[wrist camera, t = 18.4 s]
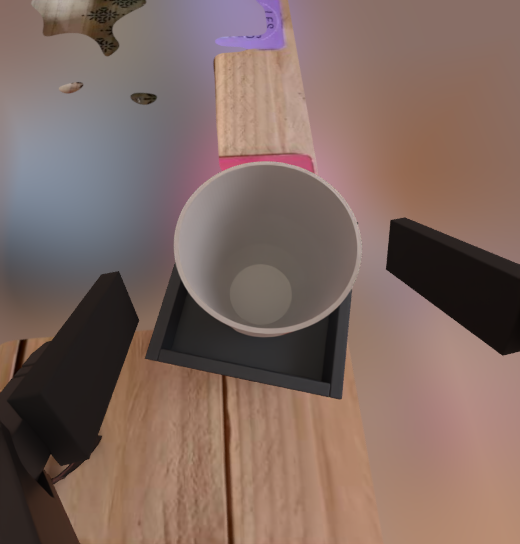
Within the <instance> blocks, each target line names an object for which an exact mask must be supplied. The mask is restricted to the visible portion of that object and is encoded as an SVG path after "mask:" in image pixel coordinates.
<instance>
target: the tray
mask: <svg viewBox="0 0 520 544" xmlns="http://www.w3.org/2000/svg"><path fill="white" fill-rule="evenodd" d="M357 224H358V222H357ZM351 293H352V289H351V290H350V292H349V294H348V295H347V297H346V298H345V299H344V300H343V302H342V303H341V304H340V305H339V306H338V307H337V308H336V309H335V310H334V311H333V312H331V313H330V314H329V315H327V316H326V317H325V318H323V319H322V320H320V321H318V322H316V323H314V324H312V325H310V326H308V327H305V328H302V329H299V330H296V331H293V332H290V333H287V334H284V335H280V336H275V337H255V336H249V335H246V334H242V333H240V332H237V331H235V330H233V329H231V328H229V327H228V326H226V325H225V324H223V323H222V322H220V321H219V320H217V319H216V318H214V317H213V316H212V315H210V314H209V313H208V312H206V311H205V310H204V309H203V308H202V307H201V306H200V305H199V304H198V303H197V302H196V301H195V300H194V299H193V298H192V296H191V295H190V294H189V292H188V291H187V289H186V287H185V286H184V284H183V282H182V280H181V278H180V275H179V273H178V270H177V266H176V262H175V264H174V268H173V271H172V275H171V277H170V280H169V284H168V287H167V290H166V293H165V296H164V299H163V303H162V306H161V309H160V312H159V316H158V318H157V322H156V325H155V328H154V331H153V334H152V338H151V341H150V344H149V347H148V350H147V353H146V357H145V359H149V360H154V361H159V362H163V363H168V364H173V365H178V366H183V367H187V368H192V369H197V370H202V371H206V372H211V373H216V374H221V375H226V376H230V377H235V378H240V379H245V380H249V381H254V382H259V383H264V384H268V385H273V386H278V387H283V388H288V389H292V390H297V391H302V392H307V393H311V394H316V395H321V396H326V397H331V398H335V399H342V391H343V380H344V370H345V359H346V348H347V337H348V327H349V315H350V305H351Z"/></svg>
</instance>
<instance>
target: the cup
mask: <svg viewBox="0 0 520 544" xmlns="http://www.w3.org/2000/svg"><path fill="white" fill-rule="evenodd" d="M174 255H175V262H176V266H177V270H178V273H179V275H180V278H181V280H182V282H183V284H184V286H185V287H186V289H187V291H188V292H189V294H190V295H191V296H192V298H193V299H194V300H195V301H196V302H197V303H198V304H199V305H200V306H201V307H202V308H203V309H204V310H205V311H206V312H208V313H209V314H210V315H212V316H213V317H214V318H216V319H217V320H219V321H220V322H222V323H223V324H225V325H226V326H228V327H229V328H231V329H233V330H235V331H237V332H240V333H242V334H246V335H249V336H255V337H275V336H280V335H284V334H287V333H290V332H293V331H296V330H299V329H302V328H305V327H308V326H310V325H312V324H314V323H316V322H318V321H320V320H322V319H323V318H325V317H326V316H327V315H329V314H330V313H331V312H333V311H334V310H335V309H336V308H337V307H338V306H339V305H340V304H341V303H342V302H343V300H344V299H345V298H346V297H347V295H348V294H349V292H350V290H351V289H352V287H353V285H354V283H355V281H356V278H357V275H358V272H359V269H360V264H361V257H362V244H361V235H360V231H359V227H358V224H357V221H356V219H355V216H354V214H353V212H352V210H351V208H350V207H349V205H348V204H347V202H346V201H345V200H344V198H343V197H342V196H341V195H340V194H339V192H338V191H337V190H336V189H335V188H334V187H332V186H331V185H330V184H329V183H328V182H326V181H325V180H323V179H322V178H321V177H319V176H317V175H316V174H314V173H312V172H310V171H308V170H305V169H303V168H300V167H297V166H294V165H290V164H286V163H280V162H252V163H246V164H241V165H238V166H234V167H231V168H229V169H226V170H224V171H222V172H220V173H218V174H217V175H215V176H213V177H212V178H210V179H209V180H207V181H206V182H205V183H204V184H202V185H201V186H200V187H199V188H198V189H197V190H196V191H195V192H194V193H193V195H192V196H191V197H190V198H189V200H188V201H187V203H186V204H185V206H184V208H183V210H182V212H181V214H180V216H179V219H178V222H177V226H176V229H175V236H174Z"/></svg>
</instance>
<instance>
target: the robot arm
mask: <svg viewBox="0 0 520 544" xmlns="http://www.w3.org/2000/svg"><path fill="white" fill-rule="evenodd" d="M386 270H388V271H389V272H390V273H392V274H393V275H394V276H396V277H397V278H398V279H400V280H401V281H403V282H404V283H405V284H407V285H408V286H409V287H411V288H412V289H413V290H415V291H416V292H417V293H419V294H420V295H421V296H423V297H424V298H425V299H427V300H428V301H430V302H431V303H432V304H434V305H435V306H436V307H438V308H439V309H440V310H442V311H443V312H444V313H446V314H447V315H448V316H450V317H451V318H453V319H454V320H455V321H457V322H458V323H459V324H461V325H462V326H463V327H465V328H466V329H467V330H469V331H470V332H471V333H473V334H474V335H476V336H477V337H478V338H480V339H481V340H482V341H484V342H485V343H486V344H488V345H489V346H490V347H492V348H493V349H494V350H496V351H497V352H498V353H500V354H501V355H507V354H511V353H515V352H519V351H520V264H517V263H515V262H512V261H510V260H507V259H505V258H502V257H500V256H498V255H495V254H493V253H490V252H488V251H485V250H483V249H481V248H478V247H475V246H473V245H471V244H468V243H466V242H463V241H460V240H458V239H456V238H454V237H451V236H449V235H446V234H444V233H442V232H439V231H437V230H434V229H432V228H429V227H427V226H424V225H422V224H420V223H417V222H415V221H412V220H410V219H407V218H400V219H394V220H391V221H390V232H389V243H388V254H387V265H386ZM138 322H139V319H138V316H137V314H136V312H135V309H134V307H133V304H132V302H131V300H130V297H129V295H128V292H127V290H126V287H125V285H124V283H123V280H122V278H121V275H120V273H119V271H118V272H113V273H107V274H102V275H101V276H100V277H99V279H98V280H97V281H96V282H95V284H94V285H93V286H92V288H91V289H90V290H89V292H88V293H87V294H86V296H85V297H84V298H83V300H82V301H81V302H80V304H79V305H78V306H77V308H76V309H75V311H74V312H73V313H72V314H71V316H70V317H69V318H68V320H67V321H66V322H65V324H64V325H63V326H62V328H61V329H60V330H59V332H58V333H57V334H56V336H55V337H54V338H53V340H52V341H49V342H46V343H44V344H43V345H42V346H41V347H39V348H38V349H37V350H36V351H34V352H33V353H32V354H31V355H30V357H29V358H28V359H27V360H26V362H25V363H24V364H23V365H22V368H20V369H19V370H18V372H17V373H16V374H15V375H14V378H13V379H11V380H10V382H9V383H8V384H7V385H6V387H5V388H4V389H3V390H2V392H1V393H0V544H80V543H79V541H78V538H77V536H76V534H75V532H74V530H73V527H72V525H71V523H70V521H69V518H68V516H67V514H66V512H65V510H64V507H63V505H62V503H61V501H60V498H59V496H58V494H57V492H56V490H55V487H54V485H53V483H52V481H51V478H50V476H49V475H48V474H47V473H46V471H45V470H44V467H45V465H46V463H47V461H48V459H49V456H50V454H51V455H52V456H53V457H54V459H55V460H56V461H57V462H58V463H59V465H60V466H63V465H67V464H71V463H75V462H79V461H83V460H87V459H89V458H90V455H91V452H92V450H93V447H94V444H95V441H96V439H97V436H98V433H99V430H100V427H101V425H102V422H103V419H104V416H105V414H106V411H107V408H108V405H109V402H110V400H111V397H112V394H113V391H114V389H115V386H116V383H117V380H118V378H119V375H120V372H121V369H122V366H123V364H124V361H125V358H126V355H127V353H128V350H129V347H130V344H131V341H132V339H133V336H134V333H135V330H136V327H137V325H138Z"/></svg>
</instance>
